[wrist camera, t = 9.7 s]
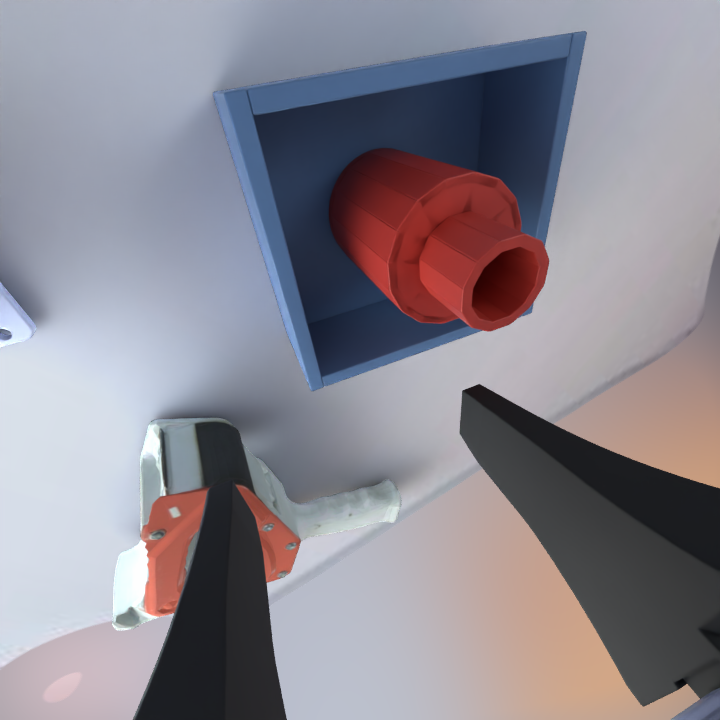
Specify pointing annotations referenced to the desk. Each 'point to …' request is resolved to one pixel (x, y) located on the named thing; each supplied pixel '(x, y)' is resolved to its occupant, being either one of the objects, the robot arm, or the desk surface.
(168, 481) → the tape dispenser
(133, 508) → the desk surface
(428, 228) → the bottle
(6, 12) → the desk surface
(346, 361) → the tub
